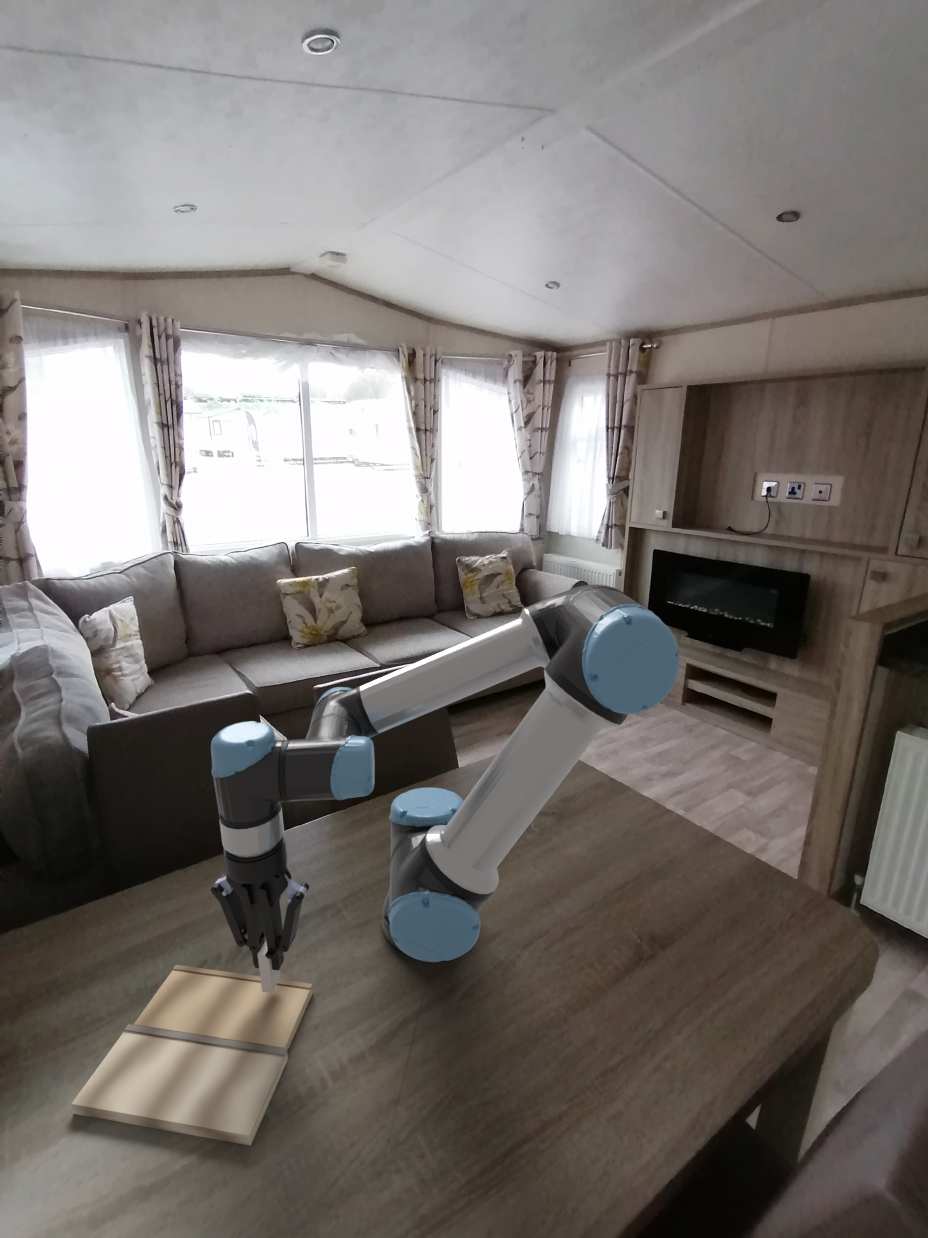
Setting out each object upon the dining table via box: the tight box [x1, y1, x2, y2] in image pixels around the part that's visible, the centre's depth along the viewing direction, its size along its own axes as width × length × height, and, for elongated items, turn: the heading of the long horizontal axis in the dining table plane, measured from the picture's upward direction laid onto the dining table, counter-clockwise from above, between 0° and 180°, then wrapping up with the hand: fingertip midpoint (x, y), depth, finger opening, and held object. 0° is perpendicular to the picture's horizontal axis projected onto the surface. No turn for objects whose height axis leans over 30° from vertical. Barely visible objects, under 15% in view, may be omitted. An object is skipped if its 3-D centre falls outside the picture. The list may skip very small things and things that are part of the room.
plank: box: [133, 964, 314, 1052], centre depth 84 cm, size 21×10×2 cm, turn 82°
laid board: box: [71, 1023, 289, 1146], centre depth 74 cm, size 22×10×2 cm, turn 82°
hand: (271, 984), depth 85 cm, fingers closed
